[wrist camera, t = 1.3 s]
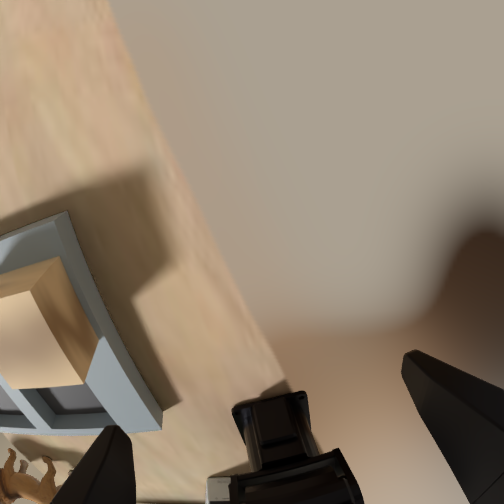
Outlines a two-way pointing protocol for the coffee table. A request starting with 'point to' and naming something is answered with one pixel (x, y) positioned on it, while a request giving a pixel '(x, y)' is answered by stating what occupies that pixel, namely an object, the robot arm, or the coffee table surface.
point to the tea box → (217, 490)
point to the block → (43, 328)
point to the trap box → (103, 363)
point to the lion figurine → (26, 482)
